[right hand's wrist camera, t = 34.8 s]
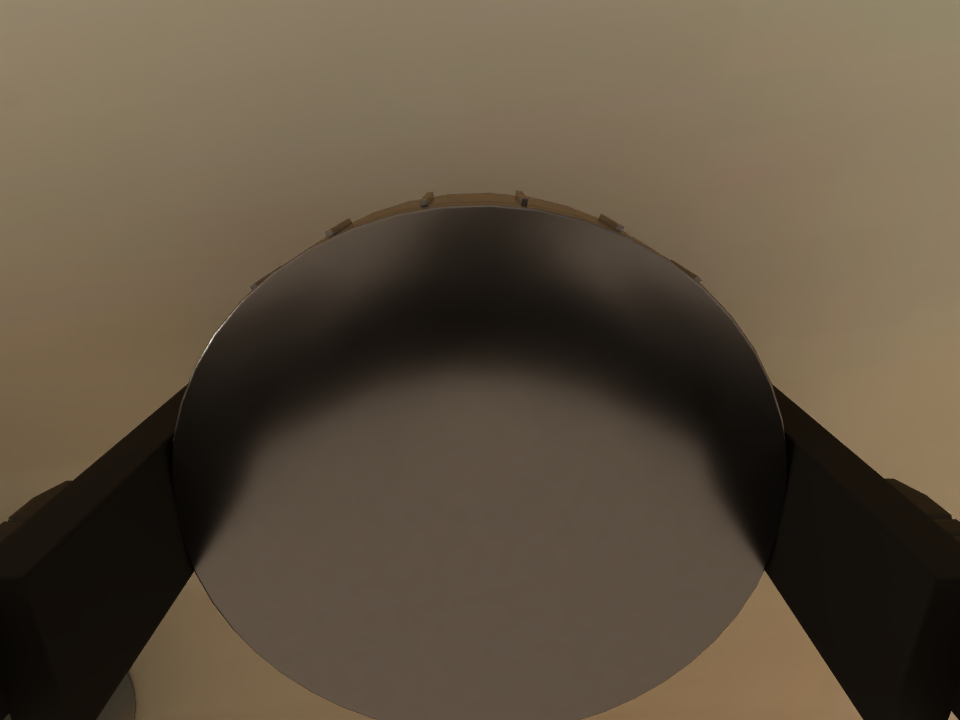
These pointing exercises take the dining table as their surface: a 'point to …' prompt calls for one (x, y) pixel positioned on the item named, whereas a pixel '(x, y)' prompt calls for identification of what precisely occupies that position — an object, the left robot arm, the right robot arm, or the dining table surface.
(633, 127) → the dining table surface
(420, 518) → the lid
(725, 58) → the dining table surface
